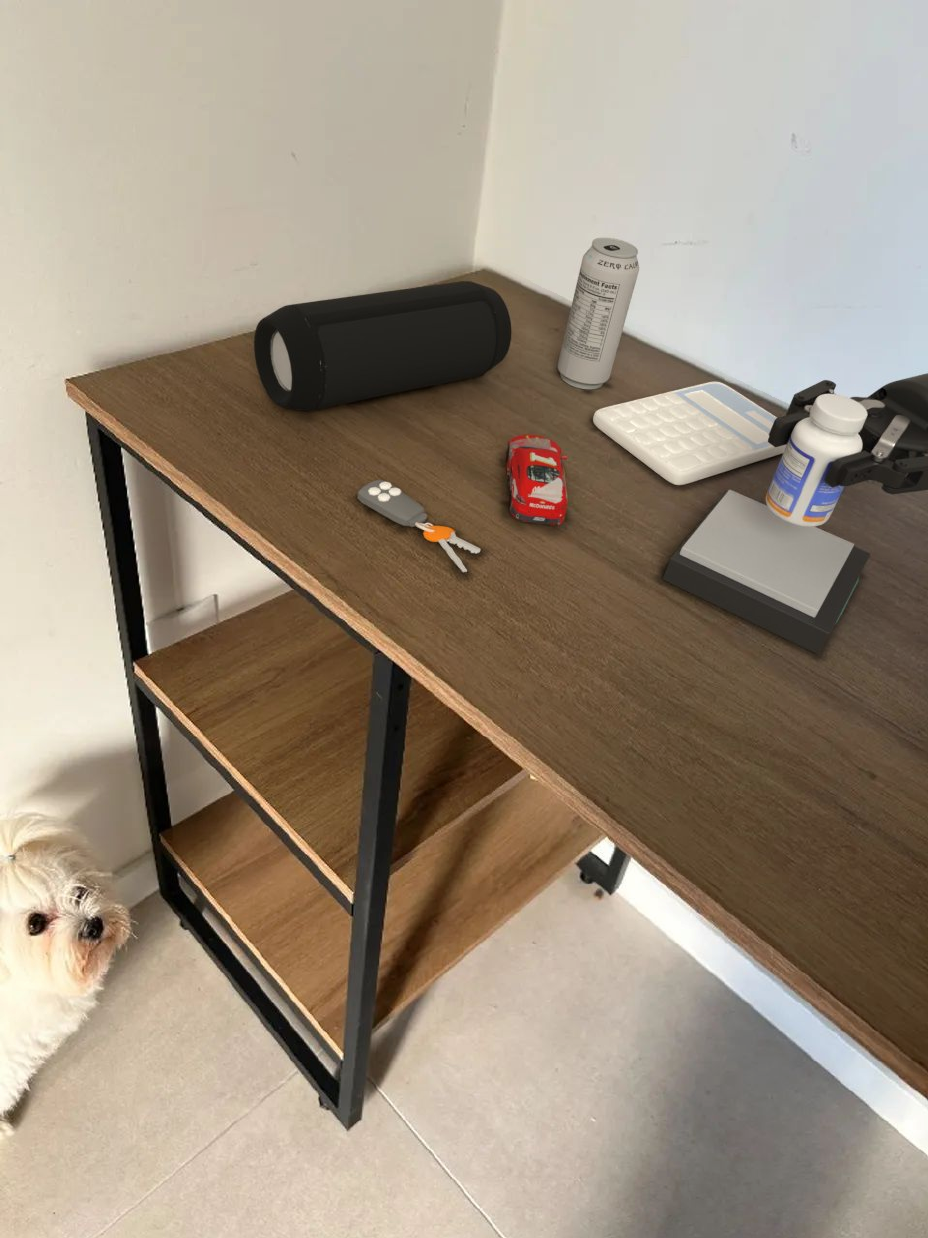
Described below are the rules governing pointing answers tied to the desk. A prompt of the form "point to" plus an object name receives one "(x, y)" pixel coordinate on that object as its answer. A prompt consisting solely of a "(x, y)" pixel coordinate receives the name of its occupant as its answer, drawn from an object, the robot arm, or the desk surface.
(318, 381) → the portable speaker
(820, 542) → the scale
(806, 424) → the pill bottle
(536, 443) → the race car
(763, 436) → the calculator
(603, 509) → the desk surface
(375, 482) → the key chain
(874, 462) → the robot arm
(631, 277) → the energy drink can
